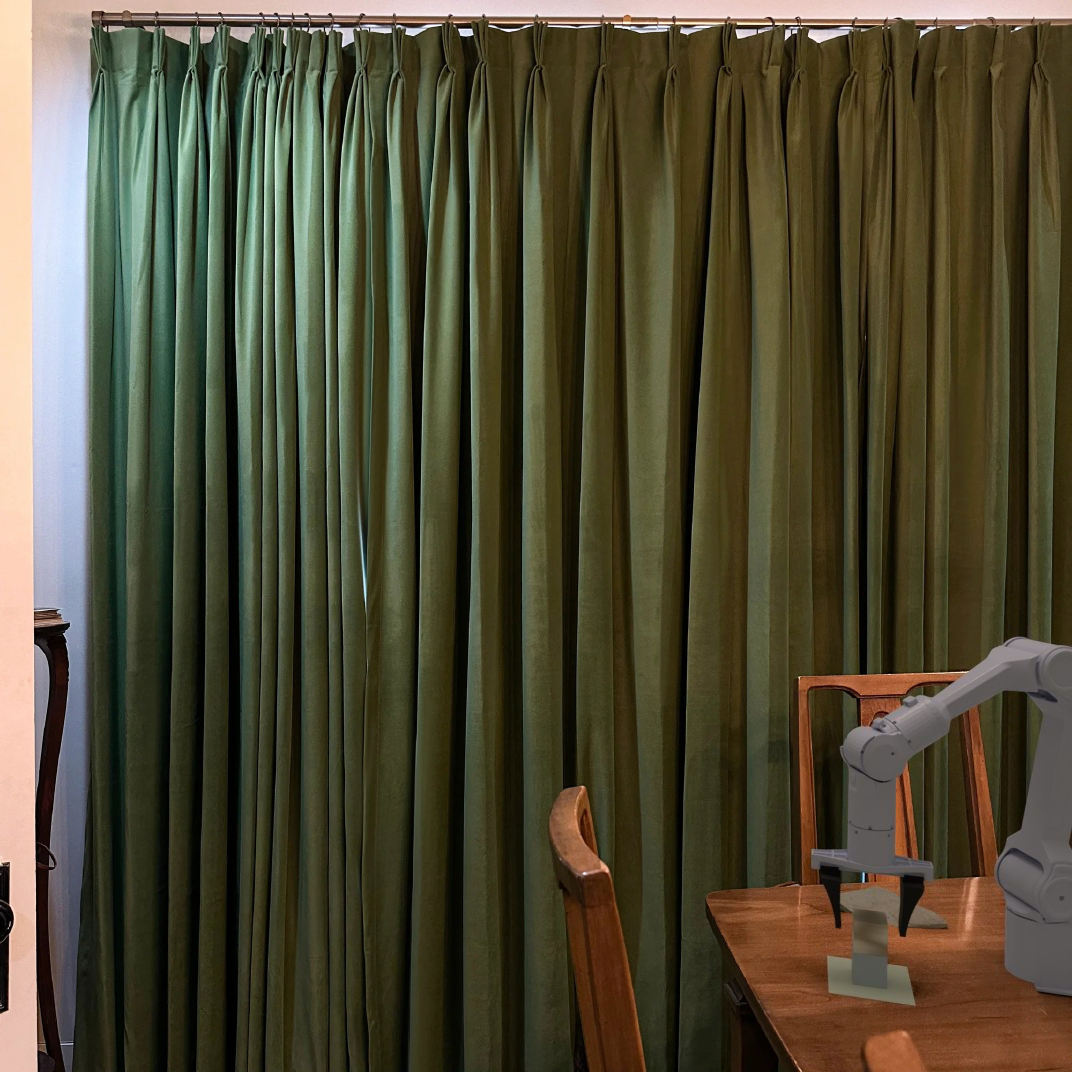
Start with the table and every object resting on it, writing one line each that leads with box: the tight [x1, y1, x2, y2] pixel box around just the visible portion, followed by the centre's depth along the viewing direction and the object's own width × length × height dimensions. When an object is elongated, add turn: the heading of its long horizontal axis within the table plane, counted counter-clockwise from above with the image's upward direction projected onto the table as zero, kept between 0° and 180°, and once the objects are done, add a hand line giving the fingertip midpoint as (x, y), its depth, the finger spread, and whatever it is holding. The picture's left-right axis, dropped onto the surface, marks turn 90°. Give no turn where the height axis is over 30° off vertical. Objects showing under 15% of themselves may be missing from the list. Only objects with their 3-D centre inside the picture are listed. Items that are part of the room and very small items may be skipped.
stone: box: [840, 886, 949, 930], centre depth 136 cm, size 15×11×3 cm
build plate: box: [826, 955, 916, 1007], centre depth 116 cm, size 10×10×1 cm
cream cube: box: [851, 908, 889, 958], centre depth 116 cm, size 4×4×4 cm
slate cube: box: [851, 940, 888, 989], centre depth 116 cm, size 4×4×4 cm
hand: (869, 929), depth 116 cm, fingers open, 7 cm apart
